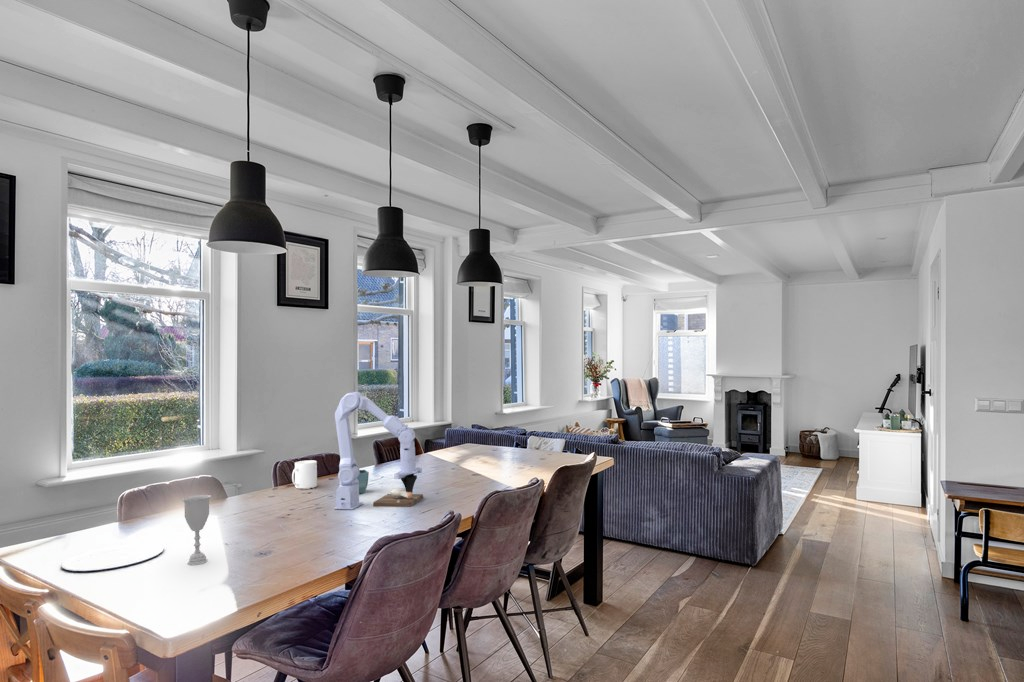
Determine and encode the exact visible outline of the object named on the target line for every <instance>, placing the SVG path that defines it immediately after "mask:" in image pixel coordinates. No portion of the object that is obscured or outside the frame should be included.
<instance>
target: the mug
mask: <svg viewBox="0 0 1024 682" xmlns="http://www.w3.org/2000/svg"><path fill="white" fill-rule="evenodd" d="M317 464H318V461H317V460H312V459H310V460H308V459H307V460H300V461H295V462H294V469H293V470H292V473H291V481H292V484H293V485H294V486H295V487H296V488H310V487H315V486H318V470H317V469H318V468H317V467H318V465H317ZM296 488H295V489H296Z"/></svg>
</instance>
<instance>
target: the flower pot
mask: <svg viewBox="0 0 1024 682" xmlns="http://www.w3.org/2000/svg"><path fill="white" fill-rule="evenodd" d="M359 470H360V473H359V476H358V477H357V479H358V481H359V494H364V493H365V491H366V490H367V488H368V485H369V474H370V473H369V471H367V470H366V469H359Z"/></svg>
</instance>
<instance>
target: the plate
mask: <svg viewBox="0 0 1024 682" xmlns="http://www.w3.org/2000/svg"><path fill="white" fill-rule="evenodd" d="M121 547H143V548H148V549H150V550H149V551H151V550H152V552H151V553H150V554H149V555H148V556H147V557H146V556H145V558H142V559H138V560H135V561H132V562H127V563H123V564H122V563H121V564H119V565H112V566H107V567H106V566H105V567H97V568H80V569H78V568H79V567H77V568H74V567H72V566H71V565H70V564H71V562H72V561H73V560H75V559H77V558H79V557H81V556H84V555H87V554H90V553H93V552H97V551H102V550H106V549H111V548H121ZM148 549H147V550H148ZM164 549H165V548H164V546H163V545H161V544H158V543H151V542H134V543H125V544H123V543H122V544H117V545H115V544H114V545H111V546H110V545H109V546H105V547H100V548H96V549H92V550H88V551H85V552H82V553H80V554H79V553H78V554H76V555H73V556H71V557H69V558H67V559H65V560H64V561H63V562H62V563H61V565H60V566H61V569H63V570H65V571H67V572H73V573H74V572H76V573H77V572H79V573H81V572H82V573H85V572H90V573H91V572H100V571H107V570H113V569H114V570H115V569H119V568H125V567H129V566H132V565H136V564H140V563H144V562H146V561H150V560H151V559H153V558H156V557H157V556H160V555H161V554H162V553H163V552H164Z"/></svg>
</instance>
